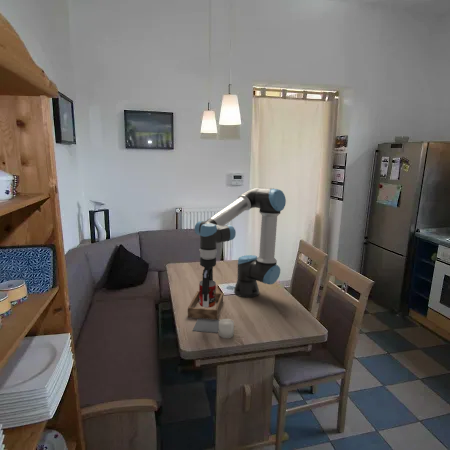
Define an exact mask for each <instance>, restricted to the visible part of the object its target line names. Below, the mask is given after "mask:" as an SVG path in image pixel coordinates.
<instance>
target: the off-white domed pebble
mask: <svg viewBox="0 0 450 450" xmlns="http://www.w3.org/2000/svg"><path fill="white" fill-rule="evenodd" d="M219 320H220V321H219V331H218V337H220V338H223V339H231V338H232V337H234V335H235V334H234V333H235V331H234V330H235V321H234V320H233V319H230V318H223V319H219Z"/></svg>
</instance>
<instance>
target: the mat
mask: <svg viewBox="0 0 450 450" xmlns="http://www.w3.org/2000/svg"><path fill="white" fill-rule="evenodd" d="M220 320H221V319H217V320H216V319H204V318H196V322H195V324H194V326H193V328H192V332H199V333H211V334H219V321H220Z"/></svg>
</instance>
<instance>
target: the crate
mask: <svg viewBox="0 0 450 450" xmlns="http://www.w3.org/2000/svg"><path fill="white" fill-rule="evenodd" d="M198 303H199V290H198V291H196V293H195V295H194V296H193V298H192V300H191V302H190V303H189V306H188V307H187V318H192V319H194V318H195V319H198V318H201V319H213V320H218V317H219V316H220V315H219V314H220V311H221V308H222V306H223V303H224V293H223V292H216V297H215V303H217V304H216V307H215V308H206V307H197V305H198Z"/></svg>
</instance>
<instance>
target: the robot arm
mask: <svg viewBox="0 0 450 450" xmlns="http://www.w3.org/2000/svg"><path fill="white" fill-rule="evenodd" d="M286 203H287V200H286V195H285V193H284V192H283V191H282V190H281V189H278V188H274V187H273V188H272V187H270V188H268V187H259V186H258V187H254V188H250V189H249V190H247V191H245V192H243V193H241V194H240V195H238V196H237V199H236V200H234V201H232V202H231V203H230V204H228V205H227V206H226V207H224V208H223V209H221V210H219V211H218V212H217V213H216V214H214V215H212V216H211V217H210V218H208V219H206V220H205V221H203V220H202V221H201V220H200V221H198V222H196V223H195V225H194V233H195V234H196V235H197V236H199V237H200V238H199V247H200V248H199V250H198V252H200V254H199V257H200V258H199V265H200V266H201V267H203V270H202V280H203V282H202V293H201V294H203V307H202V308H206V307H209V293H208V292H209V280H212V281H214V274H213V273H214V267H216V266H217V258H216V257H217V244H220V243H224V242H229V241H232V240H234V239H235V237H236V228H235V227H234V226H233V225H231V224H230V225H228V223H230V222H231V221H232V220H234V219H235V218H236V217H238V216H240V215H241V214H242V213H244V212H246V211H249V210H250V209H255V208H256V209H257V208H258V209H259V214H260V215H261V225H260V226H261V227H260V240H259V241H260V242H259V253H258V254H259V255H258V256H257V255H253V254H251V255H250V254H249V255H247V254H246V255H242V256H240V257H238V259H237V279H236V283H235V286H234V287H233V288H234V289H233V291H234V292H235V293H234V295H236V296H238V297H242V298H254V297H257V296H258V295H259V293H260V289H259V285H258V282H260V283H263V284H265V285H273V284H276V282H277V281H278V279H279V277H280V274H281V268H280V266H279V265H277V263H278V262H277V261H278V260H277V259H276V258H275V255H276V254H275V253H276V252H275V251H276V241H277V240H276V238H277V237H276V236H277V226H278V216H279V215H280V214H281V211H283V210H284V209H285V207H286ZM209 308H210V307H209Z"/></svg>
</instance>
